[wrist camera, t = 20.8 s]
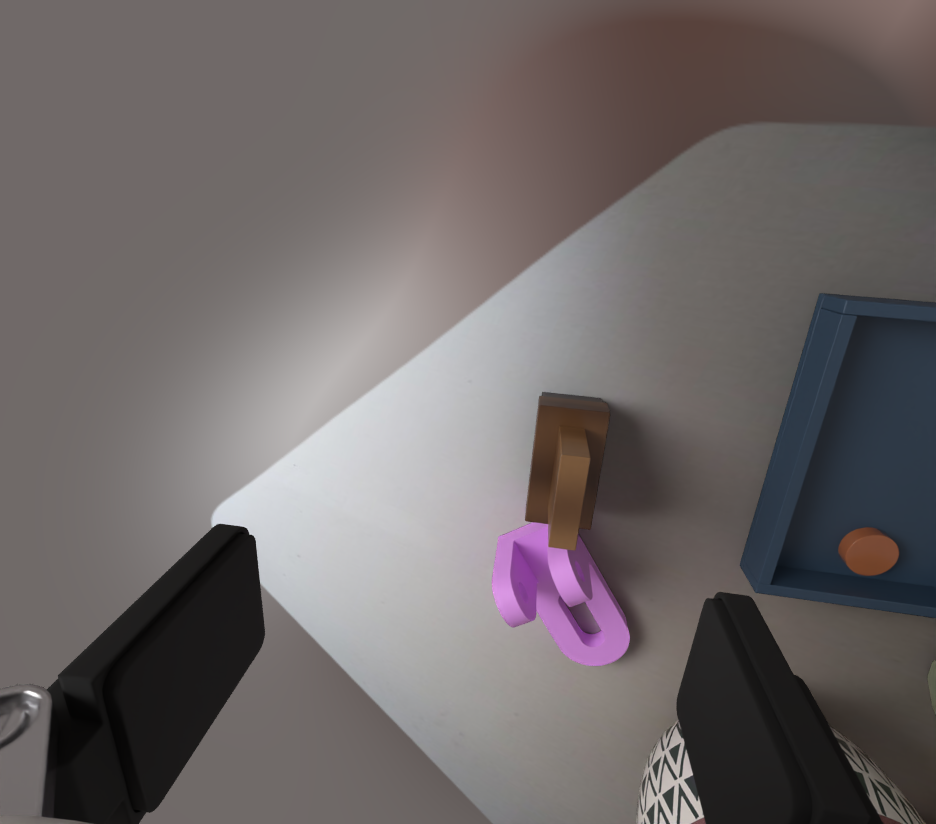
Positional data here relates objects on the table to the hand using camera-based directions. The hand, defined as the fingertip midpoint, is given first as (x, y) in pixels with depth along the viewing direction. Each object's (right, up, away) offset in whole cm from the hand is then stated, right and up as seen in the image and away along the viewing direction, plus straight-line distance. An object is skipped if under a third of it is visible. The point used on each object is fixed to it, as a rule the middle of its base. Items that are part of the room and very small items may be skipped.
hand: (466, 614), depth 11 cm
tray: (+28, +1, +23) cm, 36 cm away
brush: (+7, +2, +26) cm, 27 cm away
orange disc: (+27, -5, +25) cm, 37 cm away
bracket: (+8, -10, +30) cm, 33 cm away
